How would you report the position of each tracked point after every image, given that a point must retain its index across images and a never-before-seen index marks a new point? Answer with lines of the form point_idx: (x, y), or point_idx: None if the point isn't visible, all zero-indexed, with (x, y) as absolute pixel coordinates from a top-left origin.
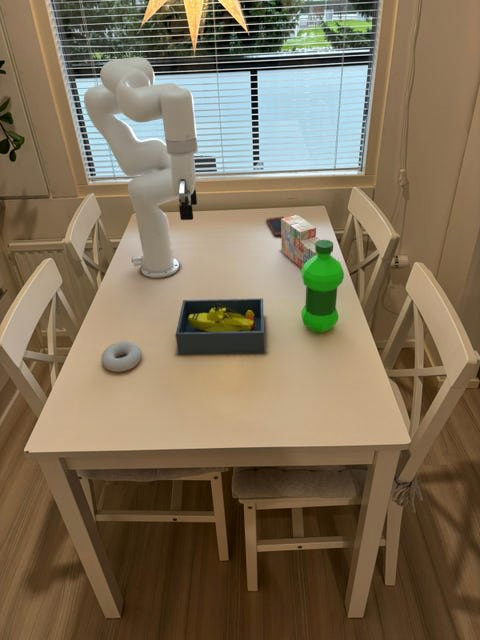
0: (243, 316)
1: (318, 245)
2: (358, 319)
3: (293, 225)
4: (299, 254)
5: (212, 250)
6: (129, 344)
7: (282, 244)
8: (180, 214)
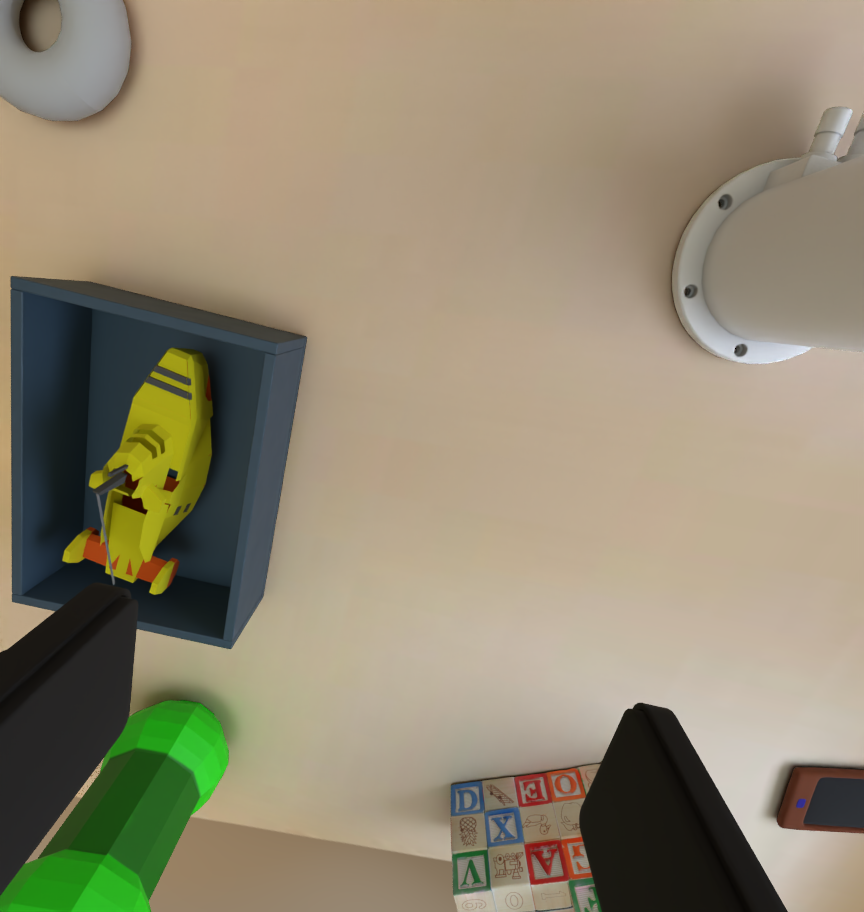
0: (146, 556)
1: None
2: (209, 815)
3: None
4: (551, 819)
5: (815, 526)
6: (63, 54)
7: None
8: (33, 634)
